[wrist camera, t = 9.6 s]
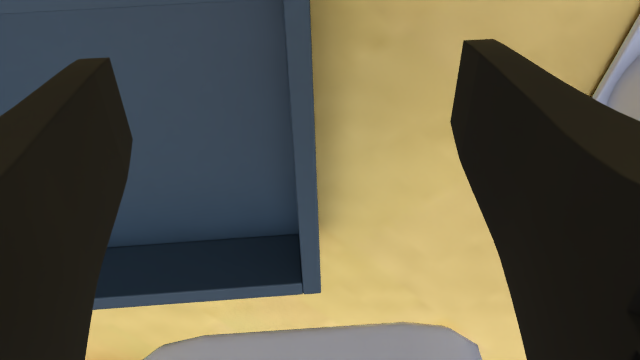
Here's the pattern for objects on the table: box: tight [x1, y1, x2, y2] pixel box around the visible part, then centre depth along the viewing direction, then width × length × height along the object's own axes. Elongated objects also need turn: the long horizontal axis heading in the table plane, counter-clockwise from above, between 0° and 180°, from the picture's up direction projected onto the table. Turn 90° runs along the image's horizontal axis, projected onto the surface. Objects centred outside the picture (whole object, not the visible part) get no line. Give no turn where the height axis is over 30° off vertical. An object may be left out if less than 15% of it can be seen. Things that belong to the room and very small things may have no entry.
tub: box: [0, 0, 321, 310], centre depth 22 cm, size 16×15×4 cm
